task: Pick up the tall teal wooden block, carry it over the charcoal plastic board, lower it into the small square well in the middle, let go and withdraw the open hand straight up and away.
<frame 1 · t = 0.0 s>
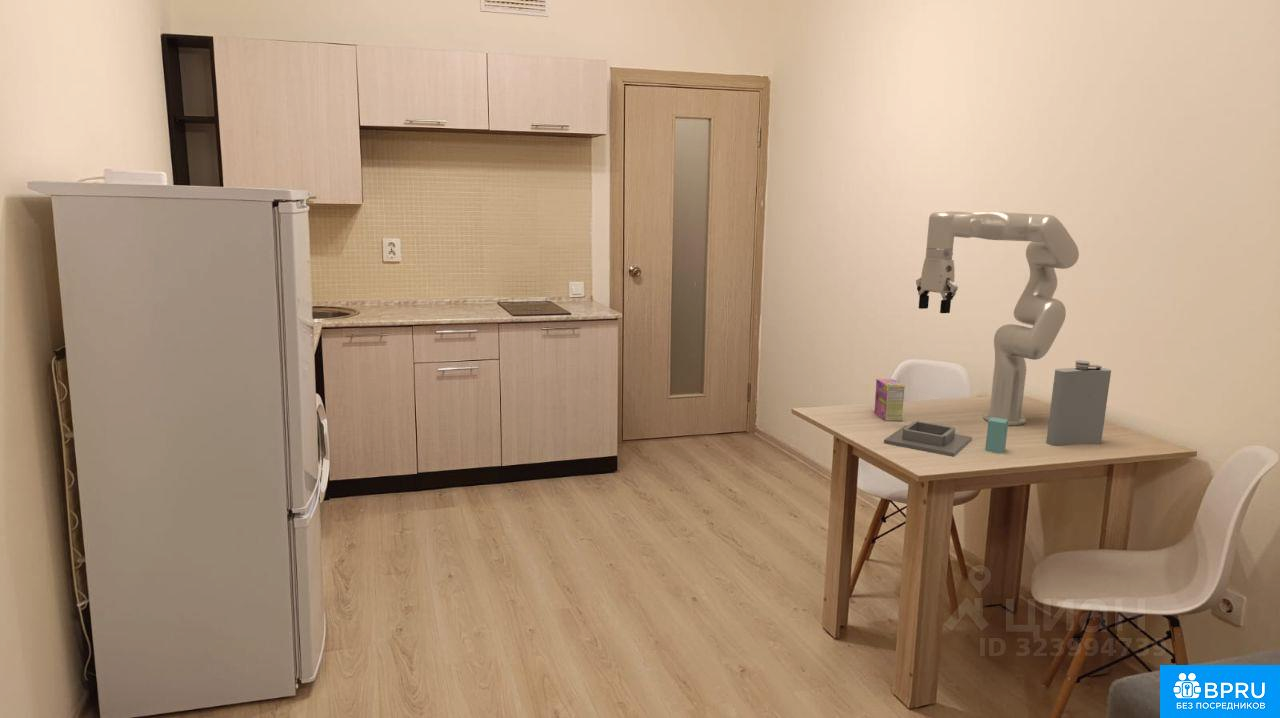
hand: (933, 310, 256), 37 cm above the table, tool pointing down, fingers open, 9 cm apart
flask: (1072, 443, 252), on the table
box: (887, 417, 276), on the table
well: (928, 441, 250), on the table
block: (995, 450, 243), on the table
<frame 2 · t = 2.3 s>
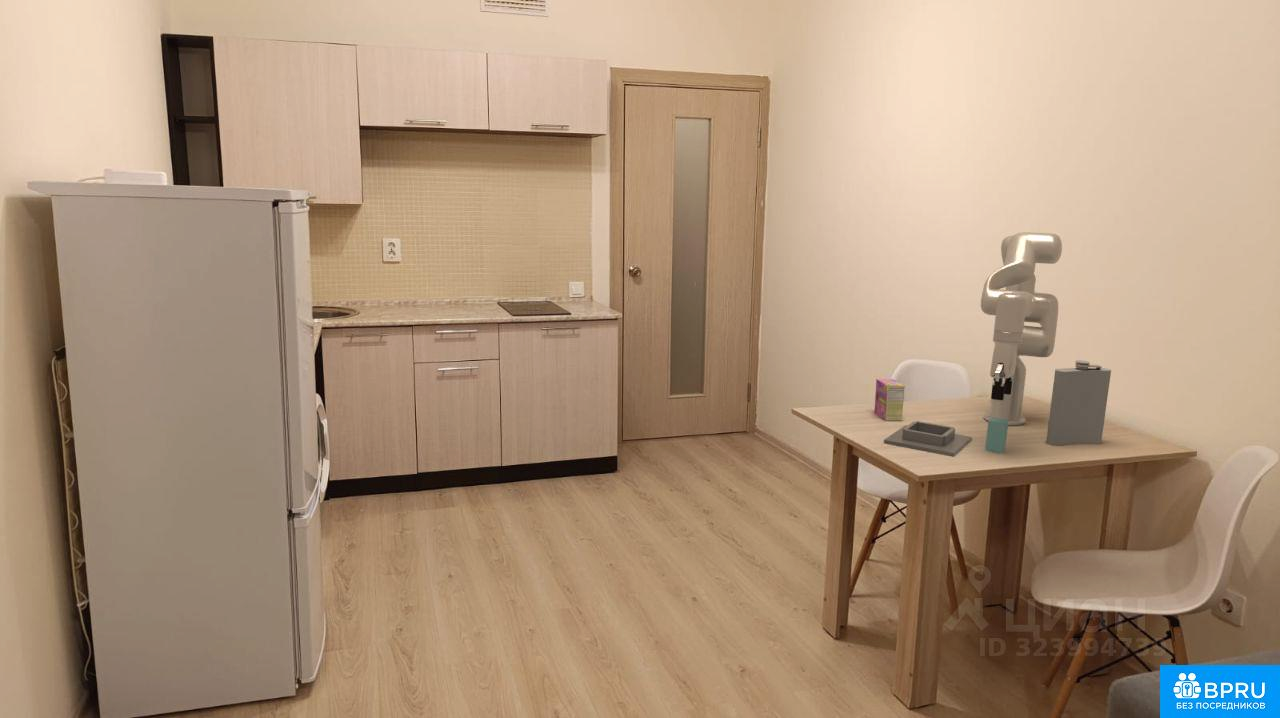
hand: (1001, 396, 239), 16 cm above the table, tool pointing down, fingers open, 9 cm apart
nothing on the table moved.
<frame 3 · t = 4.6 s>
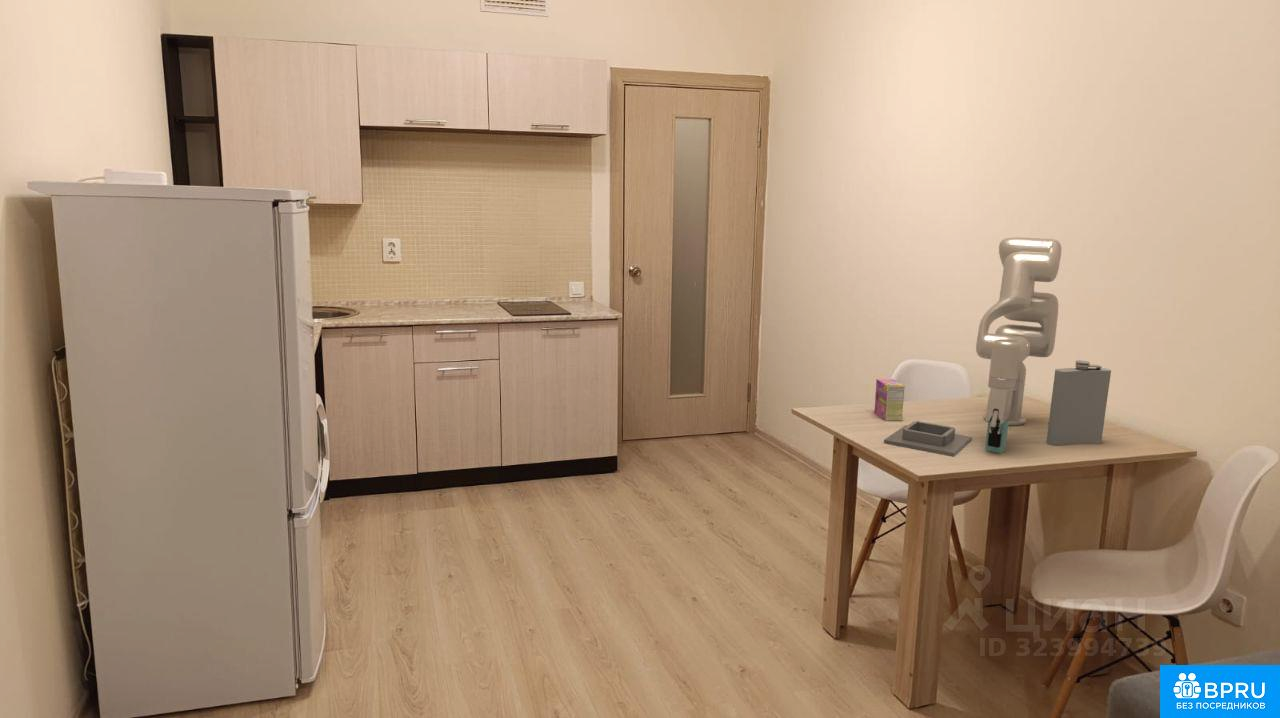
hand: (995, 443, 242), 2 cm above the table, tool pointing down, fingers closed on block, 4 cm apart
block: (995, 450, 243), on the table, touching gripper
everything else where it was.
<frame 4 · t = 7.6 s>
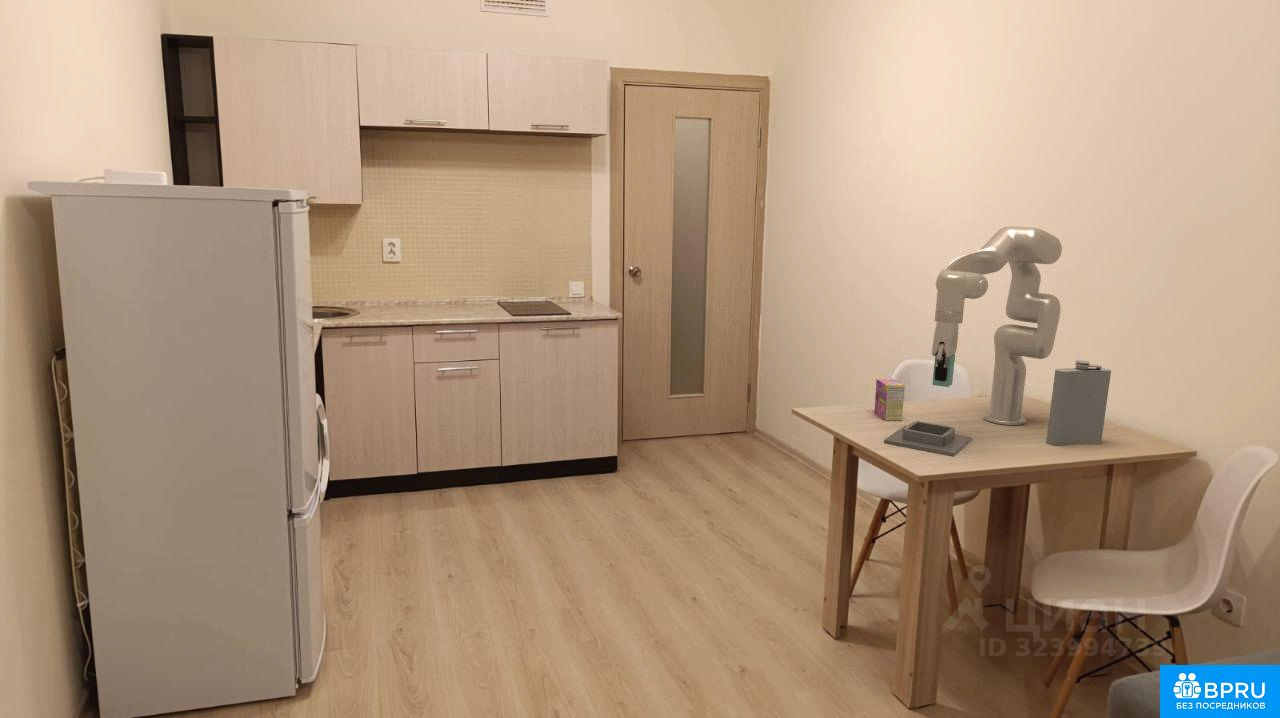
hand: (942, 378, 245), 20 cm above the table, tool pointing down, fingers closed on block, 4 cm apart
block: (942, 384, 245), point 18 cm above the table, touching gripper
everything else where it was.
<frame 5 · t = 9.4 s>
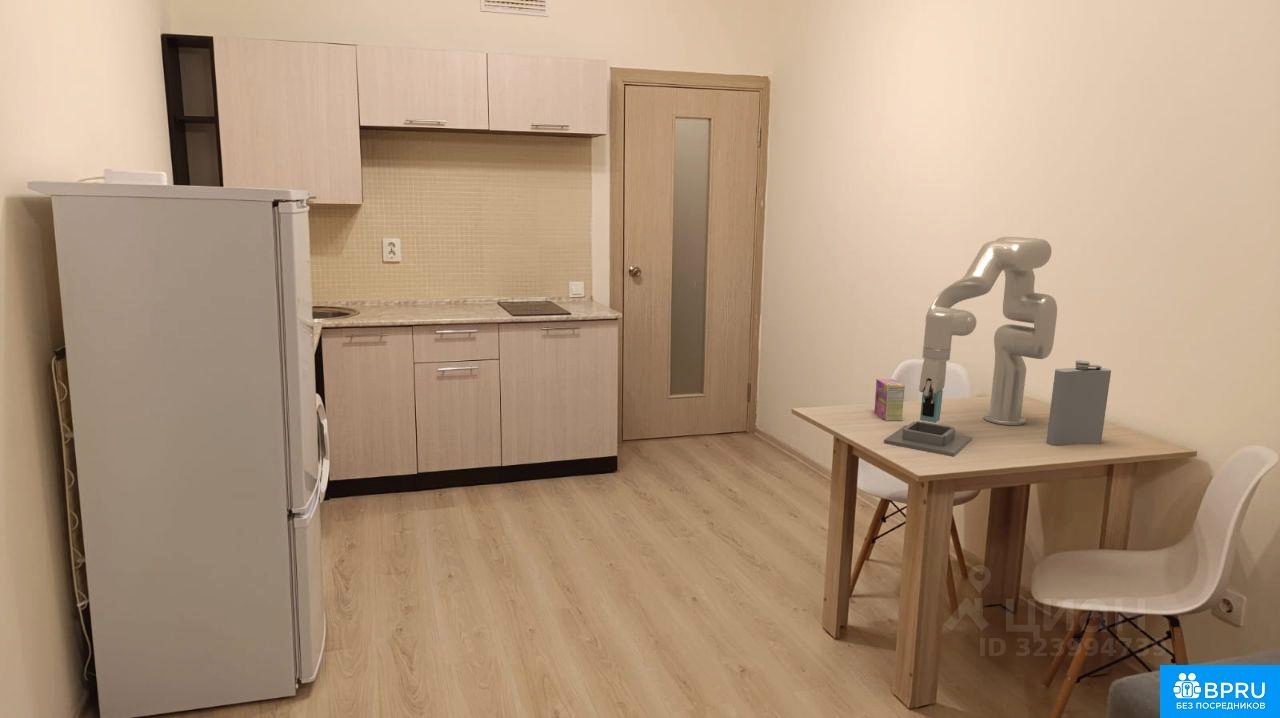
hand: (930, 413, 248), 9 cm above the table, tool pointing down, fingers closed on block, 4 cm apart
block: (929, 419, 248), point 7 cm above the table, touching gripper
everything else where it was.
when the fingers open (5 cm above the table, at t = 10.9 s): block drops 2 cm, resting on well.
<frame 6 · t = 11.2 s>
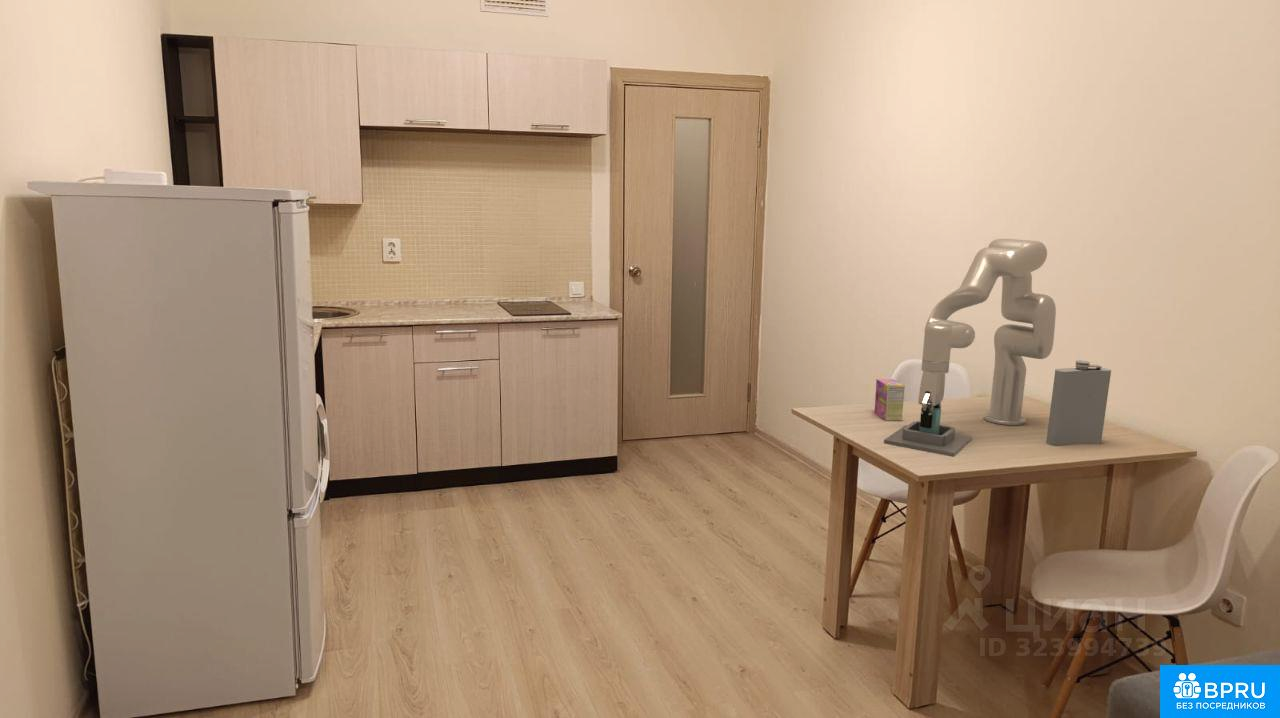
hand: (929, 424, 249), 5 cm above the table, tool pointing down, fingers open, 7 cm apart
block: (928, 438, 249), point 1 cm above the table, touching well
everything else where it was.
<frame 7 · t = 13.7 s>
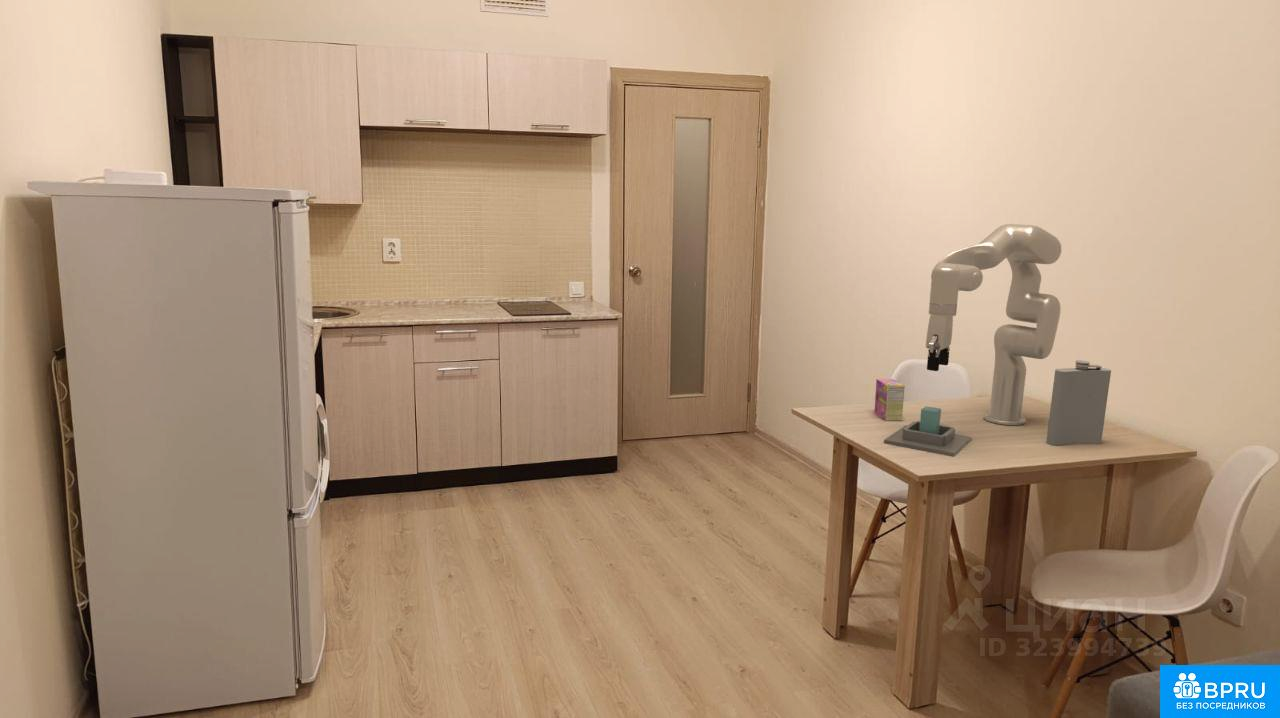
hand: (937, 367, 245), 22 cm above the table, tool pointing down, fingers open, 9 cm apart
nothing on the table moved.
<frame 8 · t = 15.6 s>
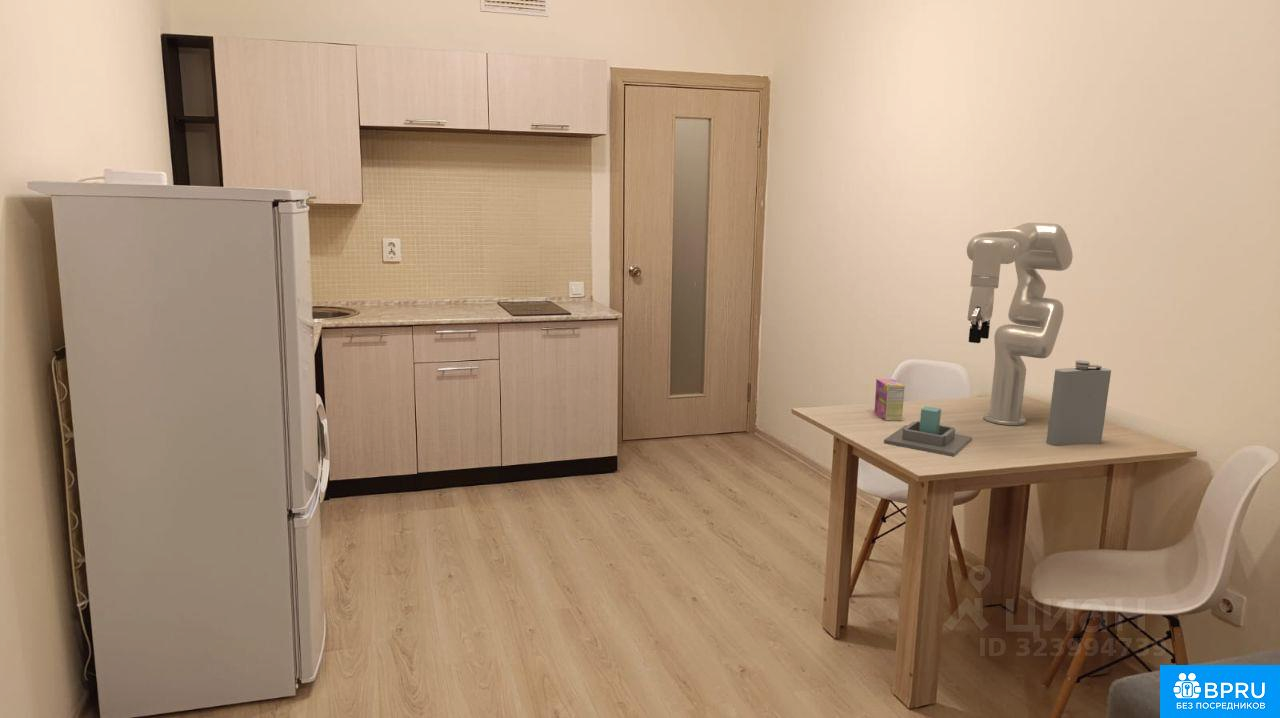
hand: (978, 340, 247), 30 cm above the table, tool pointing down, fingers open, 9 cm apart
nothing on the table moved.
at the end: block 0.0 cm off-centre on the well, point 1.0 cm above the well's base; block tilted 0°; the gripper is holding nothing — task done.
